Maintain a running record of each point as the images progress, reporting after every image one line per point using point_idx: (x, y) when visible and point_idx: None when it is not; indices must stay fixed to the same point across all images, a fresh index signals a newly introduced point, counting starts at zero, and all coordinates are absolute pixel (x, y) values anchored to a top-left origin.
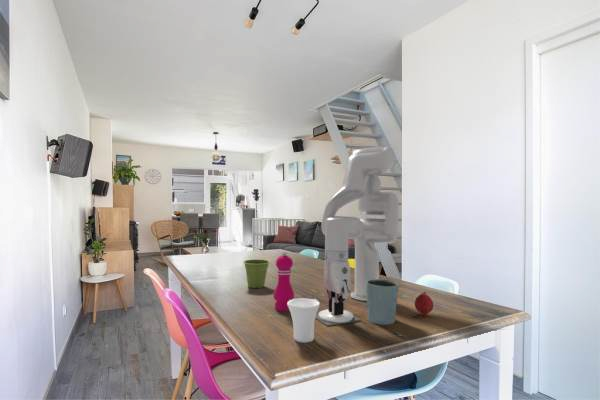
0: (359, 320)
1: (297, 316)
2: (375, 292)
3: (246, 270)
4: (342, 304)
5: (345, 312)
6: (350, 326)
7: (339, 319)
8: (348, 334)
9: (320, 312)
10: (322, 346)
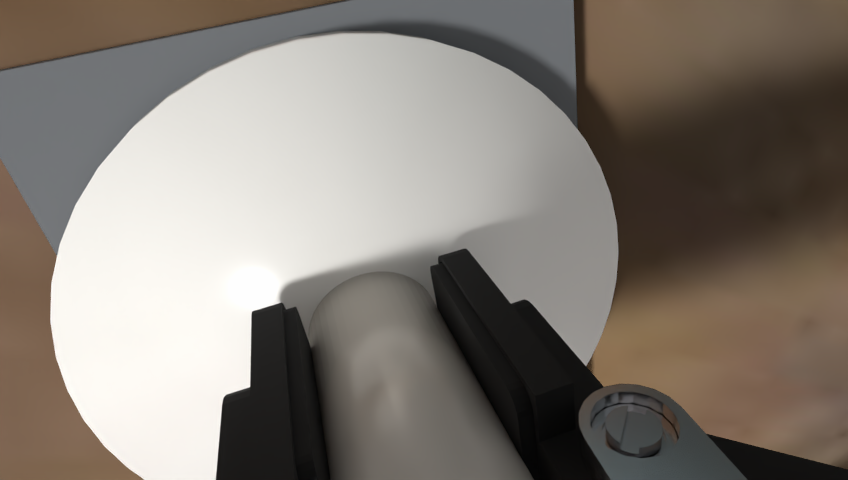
0: None
1: None
2: None
3: None
4: (595, 381)
5: (305, 149)
6: (666, 190)
7: (587, 323)
8: (808, 273)
9: None
10: (845, 466)
